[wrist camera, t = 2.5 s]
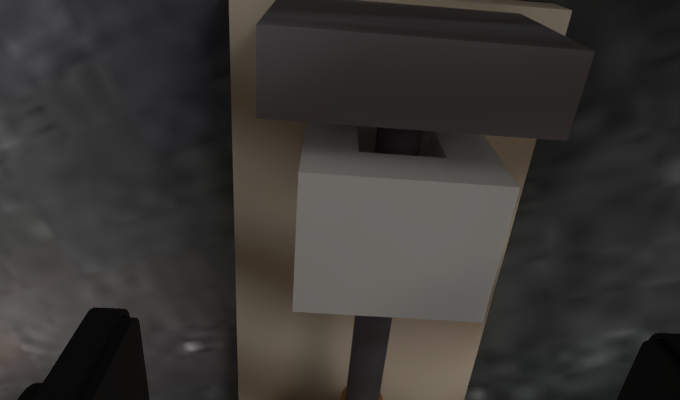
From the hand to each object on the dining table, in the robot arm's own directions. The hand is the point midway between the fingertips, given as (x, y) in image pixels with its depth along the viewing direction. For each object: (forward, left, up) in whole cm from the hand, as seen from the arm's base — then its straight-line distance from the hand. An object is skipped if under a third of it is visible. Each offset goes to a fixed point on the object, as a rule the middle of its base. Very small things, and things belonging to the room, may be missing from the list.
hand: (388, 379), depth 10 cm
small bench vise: (+4, 0, -10) cm, 11 cm away
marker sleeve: (-1, 0, -8) cm, 8 cm away
